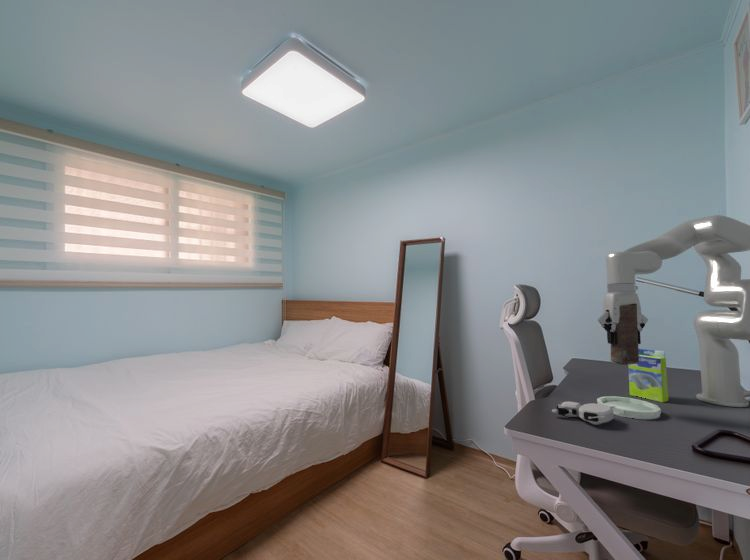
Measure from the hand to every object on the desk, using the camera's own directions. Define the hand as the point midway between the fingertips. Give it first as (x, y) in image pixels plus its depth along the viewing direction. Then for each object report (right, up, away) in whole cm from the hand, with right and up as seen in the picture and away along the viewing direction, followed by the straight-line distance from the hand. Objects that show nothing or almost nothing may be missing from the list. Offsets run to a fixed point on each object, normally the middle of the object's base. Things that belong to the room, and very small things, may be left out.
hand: (624, 343), depth 108 cm
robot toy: (-18, -22, -8) cm, 29 cm away
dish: (0, -22, -1) cm, 22 cm away
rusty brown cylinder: (0, -7, 0) cm, 7 cm away
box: (+18, -22, +12) cm, 31 cm away
